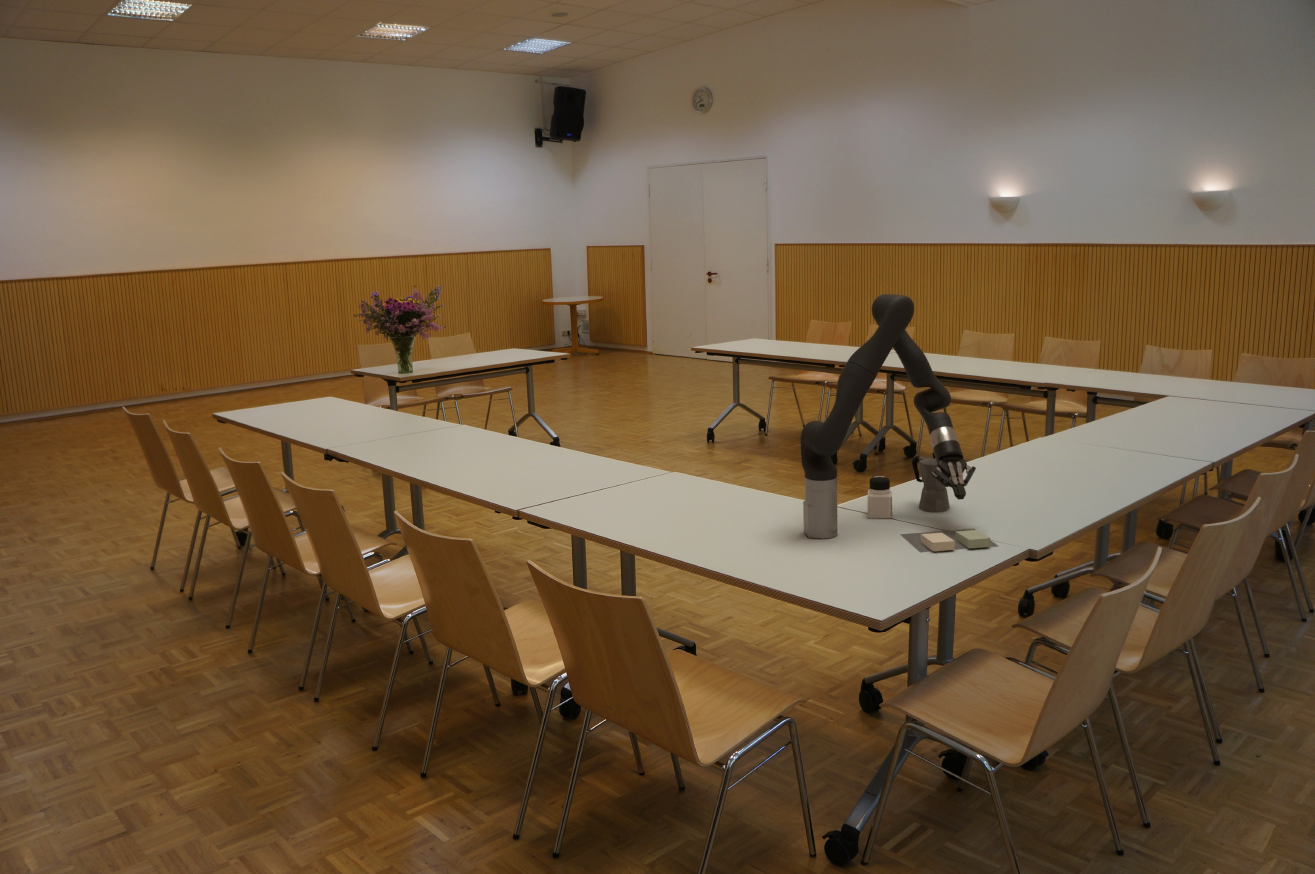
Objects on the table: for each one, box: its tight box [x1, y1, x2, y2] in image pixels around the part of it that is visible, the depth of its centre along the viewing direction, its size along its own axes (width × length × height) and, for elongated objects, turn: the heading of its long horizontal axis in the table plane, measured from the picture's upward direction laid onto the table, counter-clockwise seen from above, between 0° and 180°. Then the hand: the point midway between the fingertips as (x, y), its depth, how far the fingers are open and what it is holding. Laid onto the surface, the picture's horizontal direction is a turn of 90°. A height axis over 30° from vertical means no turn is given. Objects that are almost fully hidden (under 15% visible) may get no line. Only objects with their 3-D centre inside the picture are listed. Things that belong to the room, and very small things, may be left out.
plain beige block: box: [921, 533, 956, 552], centre depth 258 cm, size 6×3×9 cm
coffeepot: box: [911, 451, 951, 513], centre depth 295 cm, size 15×9×18 cm, turn 35°
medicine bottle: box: [867, 475, 893, 519], centre depth 290 cm, size 7×7×12 cm
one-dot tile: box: [956, 529, 992, 549], centre depth 259 cm, size 6×3×9 cm
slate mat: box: [899, 528, 999, 553], centre depth 264 cm, size 22×16×1 cm
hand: (961, 498), depth 265 cm, fingers closed
